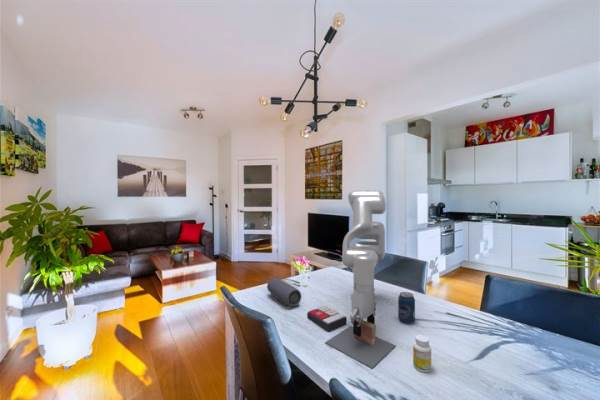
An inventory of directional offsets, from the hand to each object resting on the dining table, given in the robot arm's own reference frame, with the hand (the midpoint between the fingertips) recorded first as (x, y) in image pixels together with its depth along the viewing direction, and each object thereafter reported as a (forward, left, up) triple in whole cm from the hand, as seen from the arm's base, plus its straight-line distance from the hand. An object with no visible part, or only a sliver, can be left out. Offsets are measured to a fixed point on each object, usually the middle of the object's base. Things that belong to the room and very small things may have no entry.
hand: (364, 330), depth 96 cm
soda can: (-27, +5, -5) cm, 28 cm away
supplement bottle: (-1, +21, -5) cm, 22 cm away
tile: (0, 0, -4) cm, 4 cm away
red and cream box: (-1, -20, -5) cm, 21 cm away
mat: (+3, 0, -4) cm, 5 cm away
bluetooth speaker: (-2, -51, -5) cm, 51 cm away
